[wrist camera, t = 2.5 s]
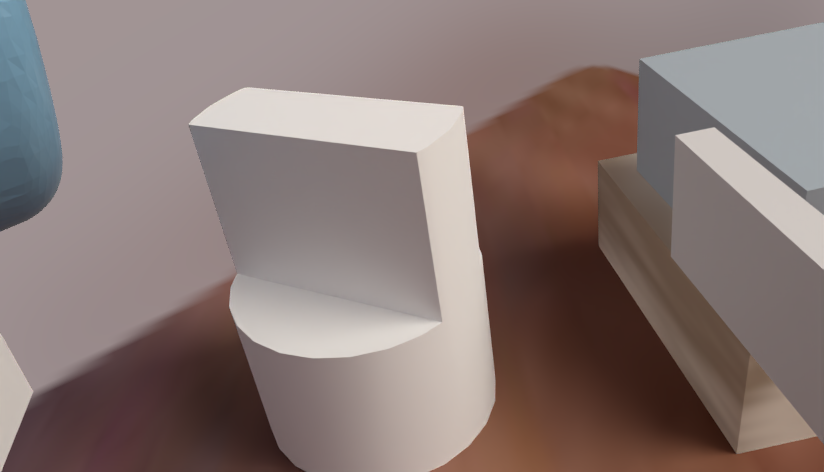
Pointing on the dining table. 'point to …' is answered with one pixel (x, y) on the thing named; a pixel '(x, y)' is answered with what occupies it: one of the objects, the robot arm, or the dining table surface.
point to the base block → (688, 314)
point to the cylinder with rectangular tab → (354, 274)
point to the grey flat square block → (739, 106)
